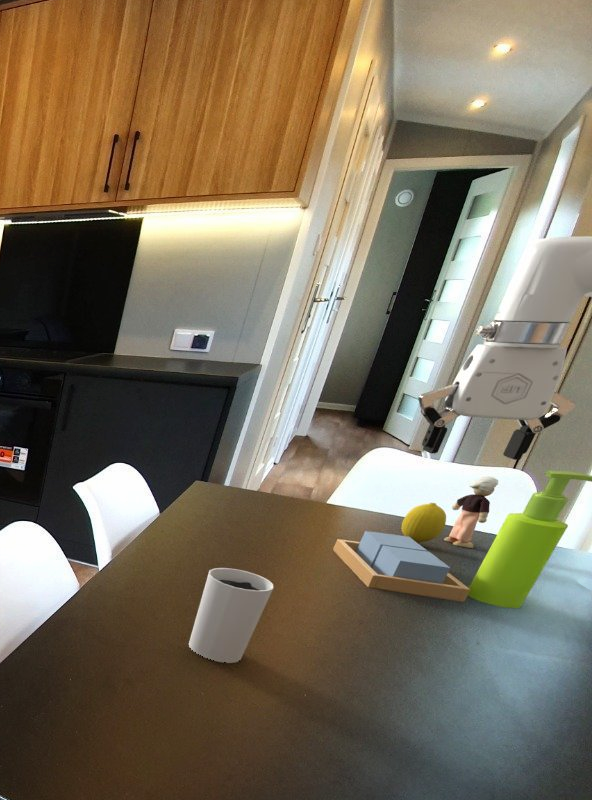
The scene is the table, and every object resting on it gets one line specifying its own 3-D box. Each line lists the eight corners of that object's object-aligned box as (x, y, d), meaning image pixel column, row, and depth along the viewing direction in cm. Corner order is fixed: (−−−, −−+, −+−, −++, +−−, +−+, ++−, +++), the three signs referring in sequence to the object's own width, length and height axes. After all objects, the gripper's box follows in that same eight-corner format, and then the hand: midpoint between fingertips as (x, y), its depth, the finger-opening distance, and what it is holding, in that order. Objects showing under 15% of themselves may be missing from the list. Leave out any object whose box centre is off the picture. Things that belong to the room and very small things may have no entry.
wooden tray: (413, 563, 108) (420, 550, 107) (462, 604, 94) (470, 589, 93) (331, 552, 112) (337, 538, 111) (366, 589, 98) (373, 575, 97)
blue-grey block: (416, 577, 102) (429, 551, 100) (436, 594, 96) (450, 567, 94) (370, 570, 104) (382, 545, 102) (387, 587, 98) (400, 560, 96)
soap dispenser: (535, 616, 91) (616, 481, 83) (471, 603, 94) (542, 473, 86) (521, 601, 96) (596, 472, 87) (459, 589, 99) (526, 464, 90)
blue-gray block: (397, 561, 108) (409, 536, 106) (414, 576, 102) (427, 550, 100) (354, 555, 110) (365, 530, 108) (369, 569, 104) (380, 544, 102)
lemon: (401, 546, 116) (421, 505, 113) (389, 536, 121) (407, 496, 117) (439, 551, 114) (461, 509, 111) (425, 541, 119) (445, 500, 115)
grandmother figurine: (486, 550, 115) (522, 483, 110) (465, 549, 115) (500, 482, 110) (447, 535, 122) (479, 471, 117) (427, 534, 122) (458, 470, 117)
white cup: (193, 632, 84) (216, 563, 80) (251, 651, 80) (279, 580, 76) (177, 649, 80) (201, 577, 76) (237, 671, 76) (266, 596, 71)
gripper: (458, 335, 90) (408, 454, 97) (627, 339, 84) (560, 466, 91) (434, 332, 96) (389, 444, 103) (589, 336, 90) (530, 455, 97)
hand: (469, 454), depth 97 cm, fingers open, 9 cm apart
